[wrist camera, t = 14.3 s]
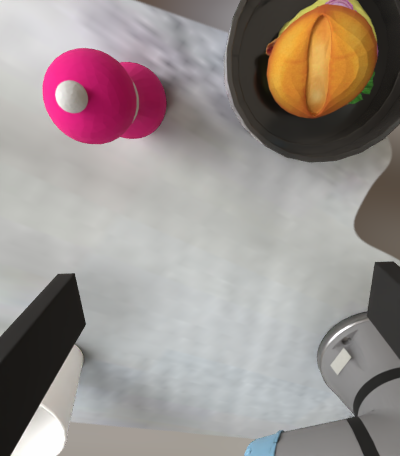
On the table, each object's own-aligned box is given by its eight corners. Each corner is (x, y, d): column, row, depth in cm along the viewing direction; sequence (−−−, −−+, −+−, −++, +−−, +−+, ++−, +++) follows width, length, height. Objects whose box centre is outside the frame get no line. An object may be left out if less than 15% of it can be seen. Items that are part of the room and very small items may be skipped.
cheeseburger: (389, 64, 34) (427, 72, 25) (299, 128, 39) (306, 152, 30) (340, -25, 31) (363, -51, 22) (250, 55, 36) (242, 59, 27)
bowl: (384, 148, 37) (418, 156, 31) (226, 157, 38) (229, 167, 32) (411, -48, 31) (461, -86, 25) (220, -31, 32) (222, -64, 26)
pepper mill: (180, 123, 37) (150, 138, 18) (123, 144, 38) (40, 178, 19) (156, 57, 35) (95, -3, 16) (97, 81, 36) (-26, 51, 17)
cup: (59, 395, 53) (17, 476, 41) (8, 346, 49) (-54, 420, 38) (115, 365, 50) (86, 443, 39) (64, 312, 47) (16, 379, 35)
